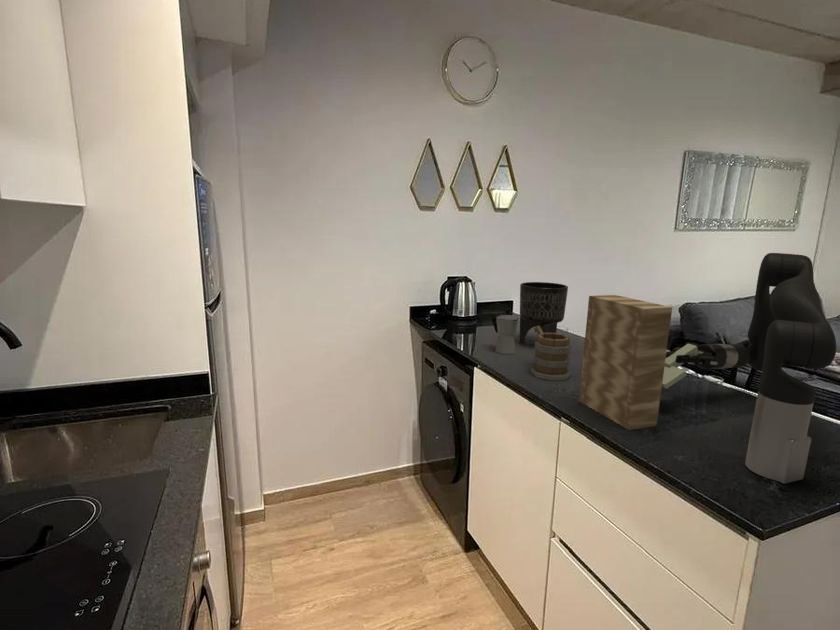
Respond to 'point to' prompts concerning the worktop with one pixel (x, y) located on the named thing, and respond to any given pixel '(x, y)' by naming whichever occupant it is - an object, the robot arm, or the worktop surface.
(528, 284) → the planter
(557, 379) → the tankard
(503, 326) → the coffee maker
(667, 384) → the sage mallet
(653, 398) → the wooden crate
